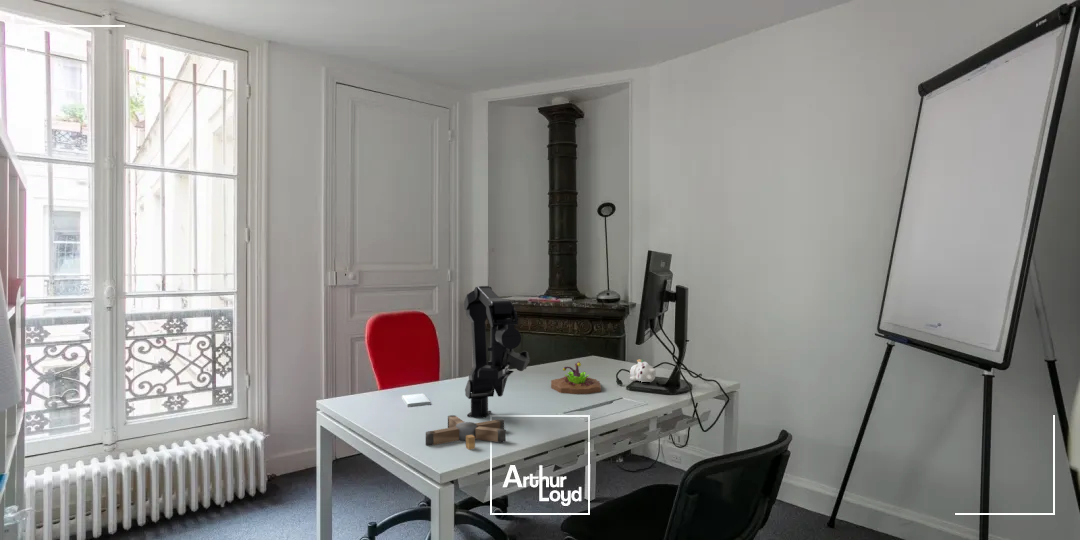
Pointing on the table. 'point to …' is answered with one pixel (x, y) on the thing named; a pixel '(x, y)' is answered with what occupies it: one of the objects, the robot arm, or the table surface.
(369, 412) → the table surface
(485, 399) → the robot arm
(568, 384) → the plant
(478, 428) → the folding leg
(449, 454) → the table surface
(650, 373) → the cat figurine
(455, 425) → the stool base
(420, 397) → the hard drive
